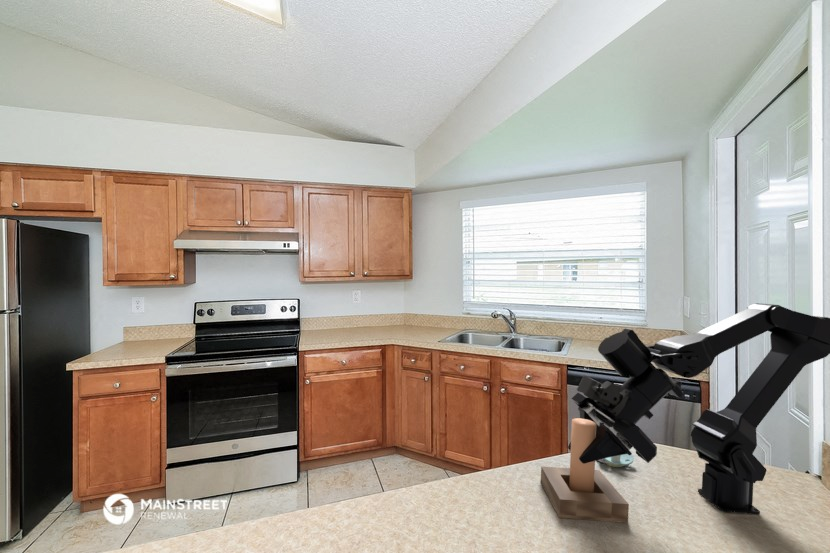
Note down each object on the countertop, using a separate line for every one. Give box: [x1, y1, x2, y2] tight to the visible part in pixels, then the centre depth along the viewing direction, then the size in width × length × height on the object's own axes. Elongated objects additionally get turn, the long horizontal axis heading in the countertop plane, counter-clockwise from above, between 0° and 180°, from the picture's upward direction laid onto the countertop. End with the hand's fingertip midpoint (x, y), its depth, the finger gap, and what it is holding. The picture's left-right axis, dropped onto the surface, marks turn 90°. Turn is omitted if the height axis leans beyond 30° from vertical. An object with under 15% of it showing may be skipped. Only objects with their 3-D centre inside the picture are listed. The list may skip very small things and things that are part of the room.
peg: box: [569, 417, 596, 493], centre depth 68 cm, size 4×4×12 cm
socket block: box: [540, 466, 630, 523], centre depth 68 cm, size 11×11×3 cm
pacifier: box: [597, 453, 635, 468], centre depth 84 cm, size 7×6×6 cm
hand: (575, 455), depth 68 cm, fingers closed on peg, 4 cm apart
